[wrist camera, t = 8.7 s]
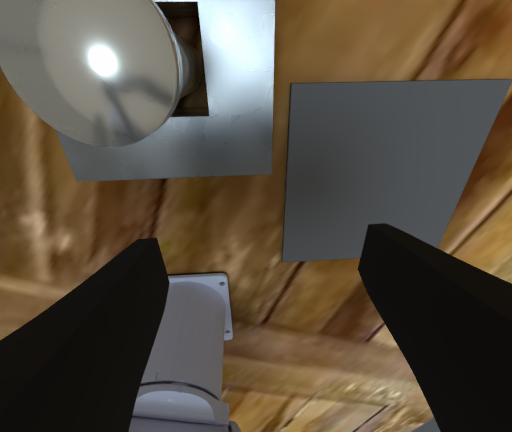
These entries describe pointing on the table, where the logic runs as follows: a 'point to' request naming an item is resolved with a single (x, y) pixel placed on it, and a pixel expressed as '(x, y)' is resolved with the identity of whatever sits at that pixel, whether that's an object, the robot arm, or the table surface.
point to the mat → (380, 159)
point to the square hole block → (212, 117)
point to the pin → (97, 66)
